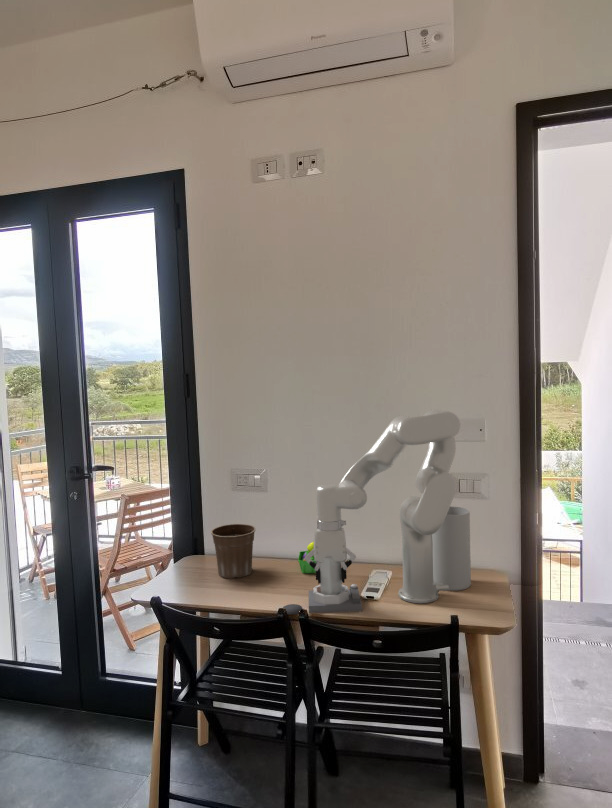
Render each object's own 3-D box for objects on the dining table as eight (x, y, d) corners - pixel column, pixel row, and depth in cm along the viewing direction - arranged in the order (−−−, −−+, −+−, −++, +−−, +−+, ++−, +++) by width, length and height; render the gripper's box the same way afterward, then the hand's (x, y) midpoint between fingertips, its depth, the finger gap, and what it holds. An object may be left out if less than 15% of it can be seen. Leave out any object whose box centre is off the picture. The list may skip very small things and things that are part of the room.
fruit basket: (299, 564, 206) (298, 534, 205) (323, 563, 205) (322, 534, 205) (298, 574, 194) (297, 543, 194) (322, 574, 194) (321, 543, 193)
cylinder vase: (456, 575, 189) (455, 504, 188) (478, 588, 177) (477, 512, 176) (425, 580, 185) (423, 508, 184) (445, 593, 173) (444, 516, 172)
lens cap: (302, 606, 167) (301, 603, 167) (302, 615, 161) (302, 612, 161) (282, 607, 167) (282, 604, 167) (282, 616, 161) (282, 612, 161)
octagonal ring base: (358, 595, 174) (357, 581, 174) (362, 611, 162) (361, 596, 162) (308, 596, 174) (308, 582, 174) (308, 612, 162) (308, 597, 162)
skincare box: (331, 588, 171) (330, 551, 171) (342, 591, 169) (341, 553, 168) (320, 594, 167) (318, 556, 166) (331, 597, 164) (329, 559, 163)
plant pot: (241, 583, 187) (240, 537, 186) (203, 577, 194) (201, 533, 193) (265, 568, 202) (263, 526, 201) (228, 563, 209) (227, 522, 208)
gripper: (356, 520, 171) (357, 576, 171) (301, 522, 171) (303, 578, 171) (358, 527, 163) (360, 585, 164) (301, 529, 163) (303, 587, 164)
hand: (331, 581), depth 168 cm, fingers closed on skincare box, 6 cm apart
